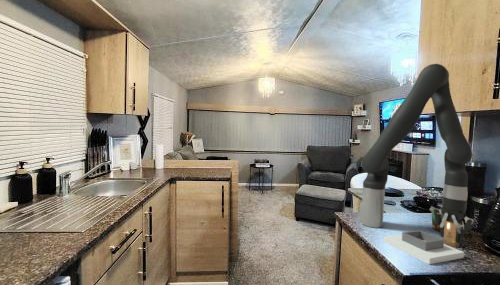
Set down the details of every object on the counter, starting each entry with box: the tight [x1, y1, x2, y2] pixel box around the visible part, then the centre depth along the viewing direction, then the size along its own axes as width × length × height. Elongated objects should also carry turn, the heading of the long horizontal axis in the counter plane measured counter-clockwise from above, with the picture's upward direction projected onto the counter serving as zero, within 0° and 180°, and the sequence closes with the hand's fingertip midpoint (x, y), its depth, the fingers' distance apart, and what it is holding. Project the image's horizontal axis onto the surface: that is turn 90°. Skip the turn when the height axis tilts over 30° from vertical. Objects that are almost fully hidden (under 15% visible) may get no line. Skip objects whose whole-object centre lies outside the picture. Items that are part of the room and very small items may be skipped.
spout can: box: [442, 220, 461, 248], centre depth 102 cm, size 5×5×11 cm
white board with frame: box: [383, 229, 465, 265], centre depth 97 cm, size 18×17×5 cm
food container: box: [429, 205, 444, 233], centre depth 116 cm, size 12×6×10 cm, turn 56°
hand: (451, 239), depth 103 cm, fingers closed on spout can, 5 cm apart
